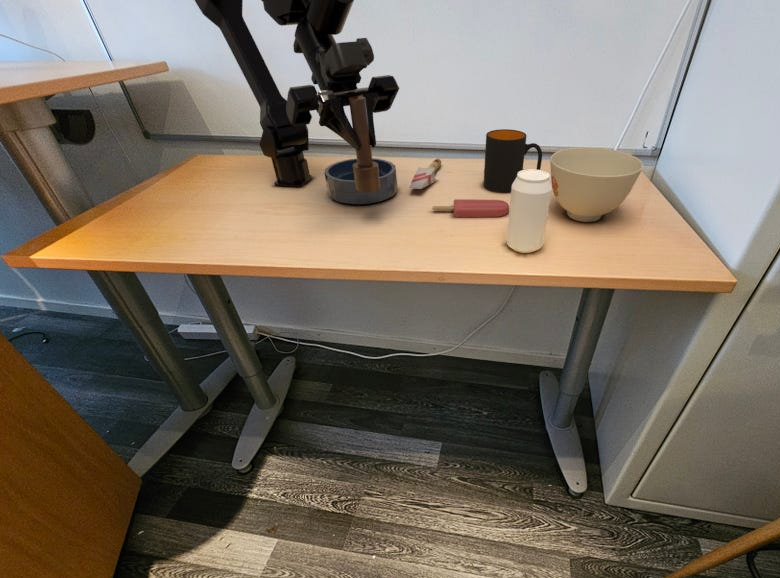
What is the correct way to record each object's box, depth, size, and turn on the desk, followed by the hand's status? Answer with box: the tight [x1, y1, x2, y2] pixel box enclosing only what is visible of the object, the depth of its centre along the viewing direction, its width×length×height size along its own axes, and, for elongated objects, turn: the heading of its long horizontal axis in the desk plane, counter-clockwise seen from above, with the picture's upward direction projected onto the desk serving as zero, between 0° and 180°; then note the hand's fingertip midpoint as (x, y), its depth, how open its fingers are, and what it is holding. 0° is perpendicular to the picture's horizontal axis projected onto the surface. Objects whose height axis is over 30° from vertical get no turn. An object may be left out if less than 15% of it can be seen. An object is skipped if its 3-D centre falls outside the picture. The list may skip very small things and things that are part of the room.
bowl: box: [549, 146, 644, 223], centre depth 77 cm, size 16×16×10 cm
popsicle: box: [432, 198, 510, 218], centre depth 81 cm, size 5×2×15 cm
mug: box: [483, 128, 543, 194], centre depth 88 cm, size 8×12×10 cm
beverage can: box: [506, 168, 553, 254], centre depth 67 cm, size 6×6×12 cm
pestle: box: [349, 96, 380, 192], centre depth 70 cm, size 4×4×14 cm
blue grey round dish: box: [323, 157, 398, 205], centre depth 88 cm, size 15×15×5 cm
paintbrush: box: [408, 158, 442, 190], centre depth 94 cm, size 4×3×20 cm
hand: (366, 147), depth 69 cm, fingers closed on pestle, 2 cm apart
